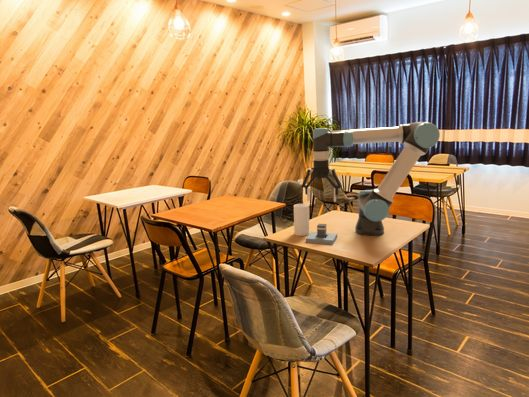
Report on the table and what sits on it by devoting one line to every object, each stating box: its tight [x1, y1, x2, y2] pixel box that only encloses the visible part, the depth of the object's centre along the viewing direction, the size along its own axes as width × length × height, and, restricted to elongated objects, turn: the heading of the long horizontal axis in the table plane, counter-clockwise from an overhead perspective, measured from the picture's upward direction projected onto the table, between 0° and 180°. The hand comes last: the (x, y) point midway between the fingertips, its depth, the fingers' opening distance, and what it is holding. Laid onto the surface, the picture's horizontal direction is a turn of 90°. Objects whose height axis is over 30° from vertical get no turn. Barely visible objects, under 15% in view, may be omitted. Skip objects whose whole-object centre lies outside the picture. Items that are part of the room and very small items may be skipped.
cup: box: [293, 203, 310, 237], centre depth 214 cm, size 8×8×16 cm
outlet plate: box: [305, 231, 338, 245], centre depth 204 cm, size 14×12×2 cm
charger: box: [316, 223, 327, 238], centre depth 203 cm, size 4×4×8 cm
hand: (321, 201), depth 200 cm, fingers open, 13 cm apart
